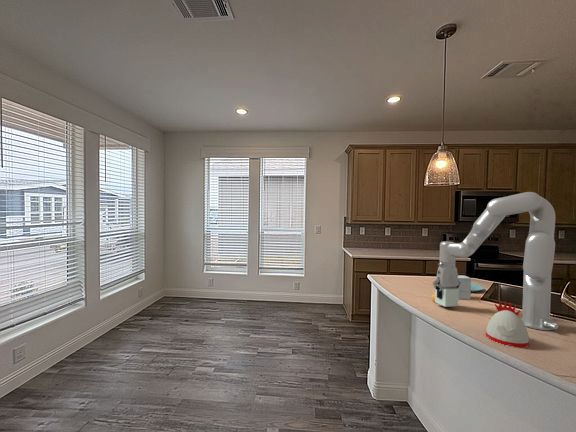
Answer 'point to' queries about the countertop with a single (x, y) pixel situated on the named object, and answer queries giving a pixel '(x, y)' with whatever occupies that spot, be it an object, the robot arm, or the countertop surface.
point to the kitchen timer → (507, 327)
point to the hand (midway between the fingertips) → (446, 297)
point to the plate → (476, 287)
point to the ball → (433, 297)
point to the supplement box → (464, 287)
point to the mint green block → (447, 297)
